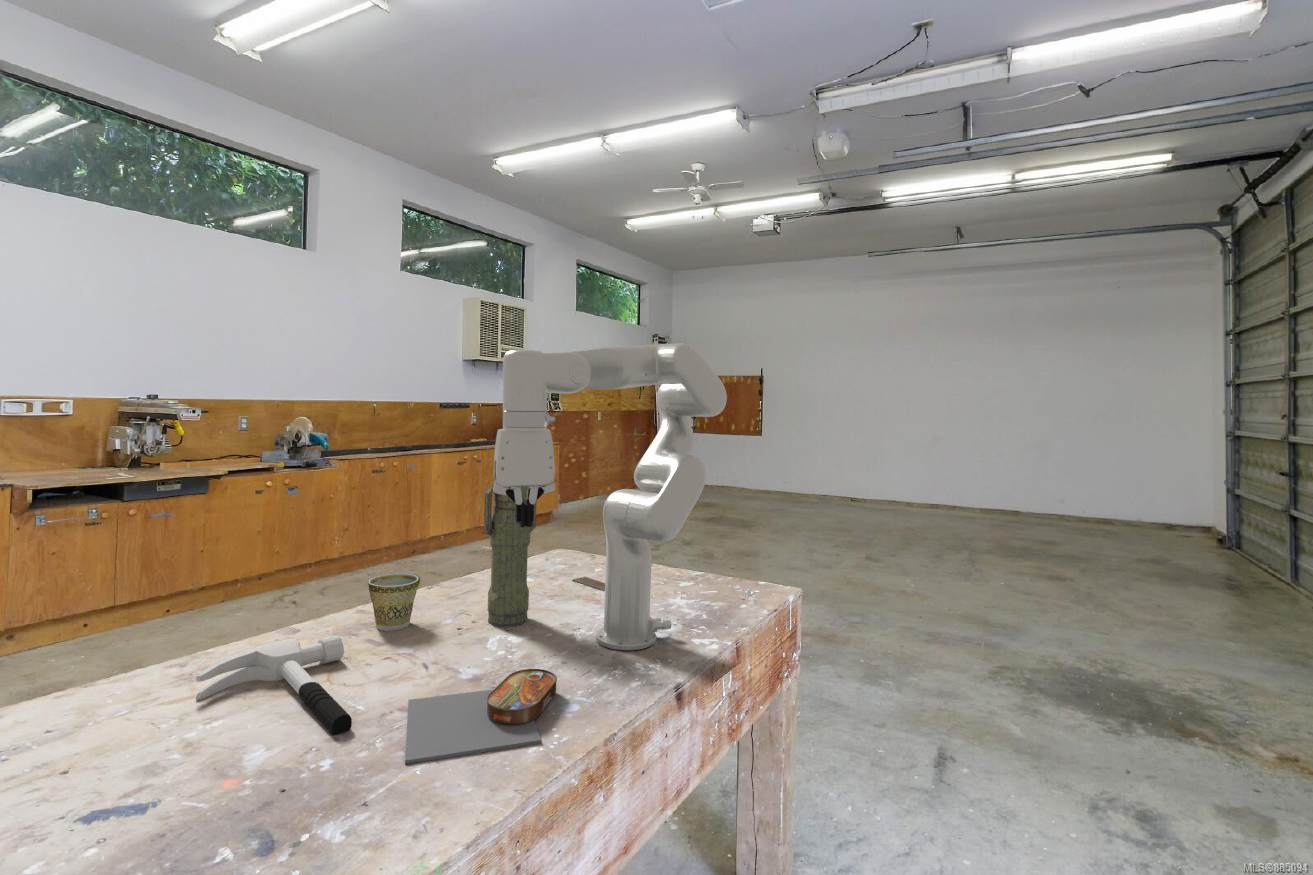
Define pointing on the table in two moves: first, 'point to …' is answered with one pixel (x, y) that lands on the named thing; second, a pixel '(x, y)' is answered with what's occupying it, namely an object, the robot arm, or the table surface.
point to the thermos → (507, 560)
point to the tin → (521, 696)
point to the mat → (459, 728)
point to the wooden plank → (590, 583)
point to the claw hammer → (284, 675)
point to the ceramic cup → (393, 599)
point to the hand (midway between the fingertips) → (524, 525)
